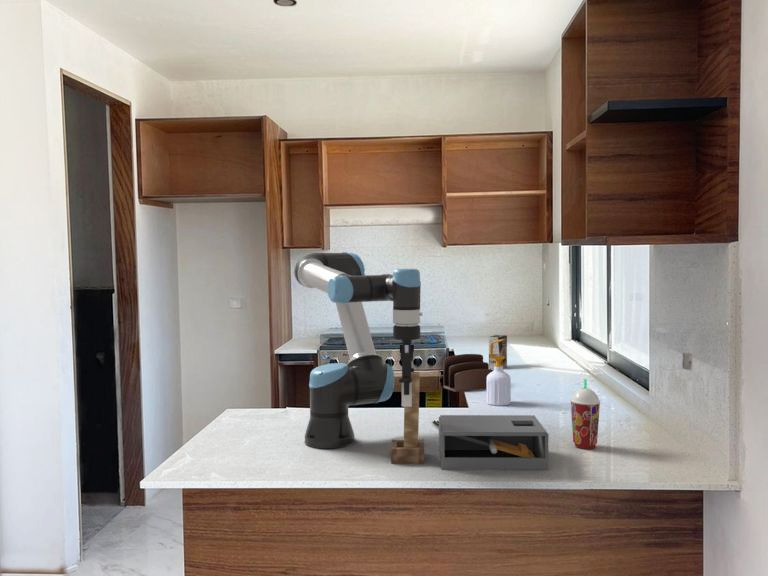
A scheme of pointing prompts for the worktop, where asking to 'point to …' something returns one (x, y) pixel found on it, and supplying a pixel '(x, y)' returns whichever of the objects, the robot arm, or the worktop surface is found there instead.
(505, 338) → the coffee box
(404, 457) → the square wooden socket
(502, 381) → the soap bottle
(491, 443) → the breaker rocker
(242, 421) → the worktop surface
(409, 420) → the light wood square bar
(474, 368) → the letter holder
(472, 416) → the box
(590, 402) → the smoothie
